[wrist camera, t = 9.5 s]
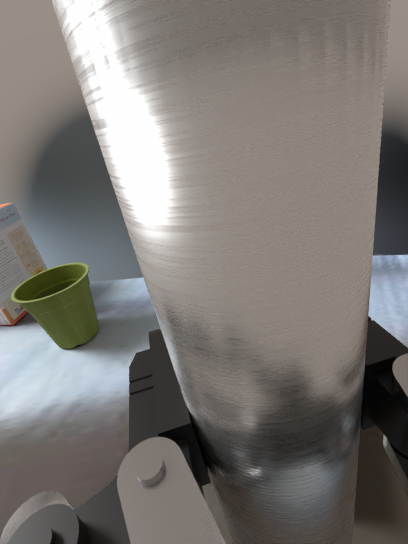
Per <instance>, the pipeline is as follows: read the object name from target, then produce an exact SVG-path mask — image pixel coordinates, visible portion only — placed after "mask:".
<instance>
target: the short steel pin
mask: <svg viewBox="0 0 408 544" xmlns="http://www.w3.org/2000/svg"><path fill="white" fill-rule="evenodd" d="M52 504H65V505H67V506H69V507H71V506H70V505H69V503H68V502H67V501H66V499H65V498H64V497H63V496H62V495H61V494H60V493H58V492H56V491H45V492H42V493H39V494H37V495H35V496H33V497H31V498H30V499H29V500H27V501H26V502H25V503H24V504H22V505H21V506H20V507H19V508H18V509H17V511H16V512H15V513H14V514H13V515H12V517H11V518H10V520H9V521H8V523H7V524H6V526H5V528H4V530H3V533H2V535H1V538H0V544H7V543H8V541H9V540H10V538H11V537H12V535H13V534H14V533H15V531H16V530H17V529H18V528H19V526H20V525H21V524H22V523H23V522H24V521H25V520H26V519H27V518H28V517H30V516H31V515H32V514H33V513H35V512H36V511H38V510H40V509H41V508H44V507H46V506H48V505H52ZM71 508H72V507H71ZM72 509H73V508H72Z"/></svg>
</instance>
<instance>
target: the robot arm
mask: <svg viewBox="0 0 408 544" xmlns="http://www.w3.org/2000/svg"><path fill="white" fill-rule="evenodd" d="M149 342H150V349H148V350H145V351H142V352H138V353H136V355H135V357H134V359H133V361H132V363H131V365H130V367H129V382H130V384H129V394H130V397H129V451H128V454H127V455H126V457H125V458H124V460H123V462H122V464H121V466H120V468H119V471H118V475H117V476H116V477H115V479H114V480H113V481H112V482H111V483H110V484H109V485H108V486H107V487H105V488H104V489H103V490H102V491H100V492H99V493H97V494H96V495H95V496H93V497H92V498H90V499H89V500H87V501H86V502H85V503H83V504H82V505H80V506H79V507H78V508H76V509H75V510H73V509H72V508H71V507H69V506H67V505H65V504H52V505H48V506H46V507H44V508H41V509H40V510H38V511H36V512H35V513H33V514H32V515H31V516H30V517H28V518H27V519H26V520H25V521H24V522H23V523H22V524H21V525H20V526H19V528H18V529H17V530H16V531H15V533H14V534H13V535H12V537H11V538H10V540H9V541H8V543H7V544H226V543H225V541H224V539H223V537H222V535H221V533H220V531H219V529H218V526H217V524H216V522H215V520H214V518H213V516H212V514H211V512H210V510H209V508H208V506H207V503H206V501H205V499H204V494H203V489H202V486H203V485H206V484H208V483H211V482H210V477H209V473H208V468H207V465H206V462H205V459H204V456H203V453H202V450H201V447H200V444H199V441H198V438H197V435H196V431H195V428H194V425H193V422H192V419H191V416H190V413H189V410H188V407H187V405H186V403H185V400H184V397H183V395H182V392H181V388H180V385H179V382H178V379H177V376H176V373H175V370H174V367H173V364H172V361H171V358H170V355H169V352H168V349H167V346H166V343H165V340H164V337H163V334H162V331H161V329H158V330H155V331H151V332H149ZM375 425H377V426H378V428H379V429H380V430H381V431H382V433H383V434H384V436H383V444H384V448H385V450H386V453H387V455H388V457H389V459H390V461H391V463H392V465H393V467H394V469H395V471H396V474H397V476H398V478H399V480H400V482H401V484H402V486H403V488H404V490H405V492H406V495H407V497H408V348H407V347H406V346H404V345H403V344H402V343H401V342H400V341H398V340H397V339H396V338H395V337H393V336H392V335H391V334H390V333H388V332H387V331H386V330H385V329H384V328H382V327H381V326H380V325H379V324H377V323H376V322H375V321H374V320H373V321H372V320H371V318H370V317H369V316H368V327H367V341H366V355H365V369H364V383H363V398H362V412H361V426H360V427H361V429H362V430H364V429H367V428H370V427H372V426H375Z"/></svg>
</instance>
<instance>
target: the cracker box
mask: <svg viewBox="0 0 408 544" xmlns="http://www.w3.org/2000/svg"><path fill="white" fill-rule="evenodd" d="M45 270H48V269H47V267H46V265H45V263H44V261H43V259H42V257H41V255H40V253H39V251H38V250H37V248H36V246H35V244H34V242H33V240H32V238H31V236H30V234H29V232H28V231H27V229H26V226H25V225H24V223H23V221H22V219H21V217H20V215H19V213H18V211H17V209H16V207H15V205H14V203H7V204H0V325H14V324H16V323H17V322H18V321H19V320H20V319H21V318H22V317H23V316H25V315H26V314H27V313H28V312H27V311H26V310H25V309H24V308H23V307H22V306H21V305H20V304H19V303H16V302H14V301H13V300H12V299H11V294H12V292H13V291H14V289H15V288H16V287H18V286H19V285H20V284H21V283H22V282H24V281H25V280H27V279H28V278H30V277H32V276H34V275H36V274H38V273H40V272H42V271H45Z"/></svg>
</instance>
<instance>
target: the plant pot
mask: <svg viewBox="0 0 408 544" xmlns="http://www.w3.org/2000/svg"><path fill="white" fill-rule="evenodd" d="M88 272H89V267H88V265H86V264H84V263H70V264H64V265H60V266H56V267H53V268H50V269H48V270H45V271H42V272H40V273H38V274H36V275H34V276H32V277H30V278H28V279H27V280H25V281H24V282H22V283H21V284H20V285H19V286H18V287H16V288H15V289H14V291H13V292H12V294H11V299H12V300H13V301H14V302H16V303H19V304H20V305H21V306H22V307H23V308H24V309H25V310H26V311H27V312H29V313H30V314H31V315H32V316H33V317H34V318H35V319H36V321H37V322H38V323H39V324H40V325H41V327H42V328H43V329H44V330H45V331H46V332H47V334H48V335H49V336H50V337H51V338H52V339H53V341H54V342H55V343H56V344H57V345H58V346H59V347H60V348H64V349H70V348H74V347H75V346H77V345H80V344H84V343H86V342H88V341H89V340H90V339H91V338H93V337H94V336H95V334H96V333H97V332H98V329H99V325H98V320H97V316H96V312H95V308H94V304H93V300H92V296H91V292H90V288H89V284H90V283H89V278H88Z"/></svg>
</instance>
